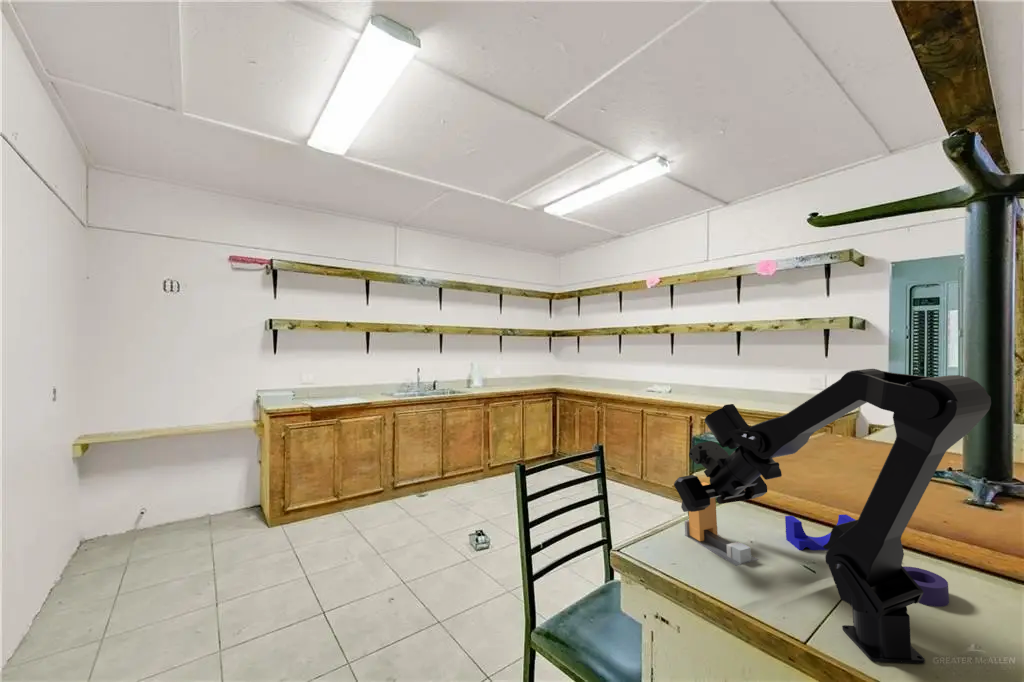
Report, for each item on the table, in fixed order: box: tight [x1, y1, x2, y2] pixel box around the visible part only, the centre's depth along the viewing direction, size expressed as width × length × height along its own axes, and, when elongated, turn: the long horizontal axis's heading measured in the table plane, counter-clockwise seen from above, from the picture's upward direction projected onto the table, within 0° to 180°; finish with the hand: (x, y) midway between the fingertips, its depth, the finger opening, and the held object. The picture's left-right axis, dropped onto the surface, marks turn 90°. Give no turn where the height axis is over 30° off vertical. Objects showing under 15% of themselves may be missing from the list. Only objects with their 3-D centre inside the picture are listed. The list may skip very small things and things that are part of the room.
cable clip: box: [784, 514, 856, 551], centre depth 85 cm, size 12×4×6 cm, turn 86°
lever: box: [903, 566, 950, 608], centre depth 72 cm, size 12×6×3 cm, turn 46°
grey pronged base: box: [684, 519, 759, 567], centre depth 86 cm, size 14×5×4 cm, turn 19°
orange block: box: [688, 481, 719, 541], centre depth 90 cm, size 3×5×11 cm
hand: (700, 505), depth 91 cm, fingers open, 9 cm apart
